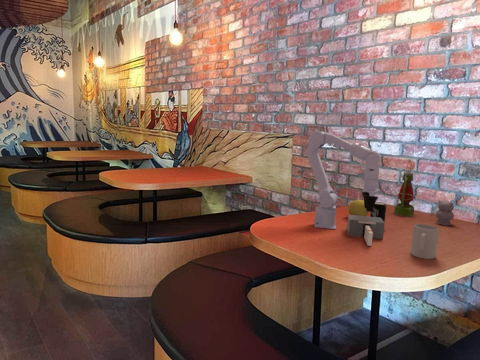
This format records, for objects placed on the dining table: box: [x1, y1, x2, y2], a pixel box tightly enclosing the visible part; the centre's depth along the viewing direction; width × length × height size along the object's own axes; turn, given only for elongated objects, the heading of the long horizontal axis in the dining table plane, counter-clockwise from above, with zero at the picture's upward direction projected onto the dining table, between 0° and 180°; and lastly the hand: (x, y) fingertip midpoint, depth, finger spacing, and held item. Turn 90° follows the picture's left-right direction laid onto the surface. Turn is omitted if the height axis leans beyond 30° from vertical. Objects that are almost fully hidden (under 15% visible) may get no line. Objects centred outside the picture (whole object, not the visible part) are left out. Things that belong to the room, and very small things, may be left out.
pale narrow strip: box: [363, 225, 373, 247], centre depth 159 cm, size 2×12×6 cm, turn 169°
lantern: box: [393, 159, 415, 217], centre depth 217 cm, size 14×11×30 cm
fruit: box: [347, 199, 370, 216], centre depth 201 cm, size 10×11×10 cm
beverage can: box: [369, 201, 387, 223], centre depth 183 cm, size 7×7×12 cm
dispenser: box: [346, 214, 386, 240], centre depth 171 cm, size 14×11×7 cm
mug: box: [410, 223, 440, 260], centre depth 144 cm, size 12×8×11 cm
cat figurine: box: [435, 199, 455, 226], centre depth 200 cm, size 8×8×12 cm
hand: (368, 209), depth 173 cm, fingers open, 7 cm apart
